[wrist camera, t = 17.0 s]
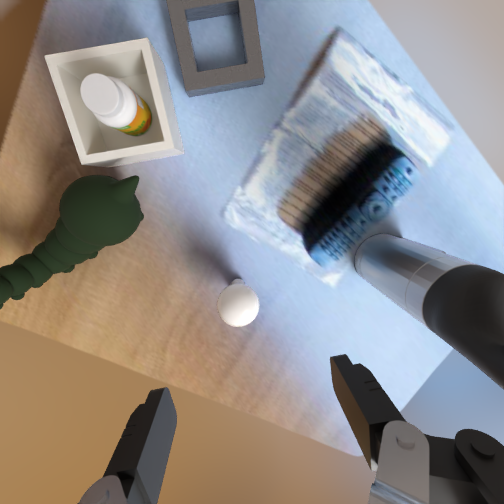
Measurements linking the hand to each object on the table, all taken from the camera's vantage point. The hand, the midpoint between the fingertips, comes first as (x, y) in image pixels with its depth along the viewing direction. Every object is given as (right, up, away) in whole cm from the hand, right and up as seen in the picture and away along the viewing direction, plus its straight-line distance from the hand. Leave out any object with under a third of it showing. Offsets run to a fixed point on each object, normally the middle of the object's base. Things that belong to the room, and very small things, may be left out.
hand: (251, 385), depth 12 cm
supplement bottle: (-17, +26, +24) cm, 39 cm away
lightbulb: (-2, +1, +33) cm, 33 cm away
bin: (-17, +26, +25) cm, 40 cm away
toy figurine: (-25, +11, +29) cm, 40 cm away
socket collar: (-5, +35, +23) cm, 43 cm away
